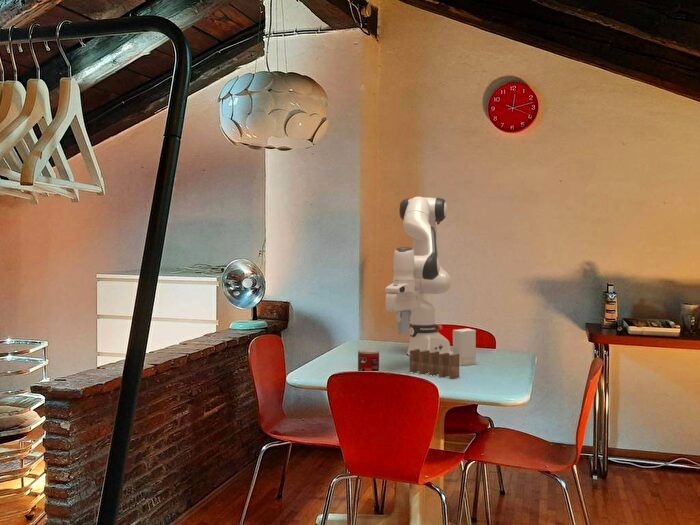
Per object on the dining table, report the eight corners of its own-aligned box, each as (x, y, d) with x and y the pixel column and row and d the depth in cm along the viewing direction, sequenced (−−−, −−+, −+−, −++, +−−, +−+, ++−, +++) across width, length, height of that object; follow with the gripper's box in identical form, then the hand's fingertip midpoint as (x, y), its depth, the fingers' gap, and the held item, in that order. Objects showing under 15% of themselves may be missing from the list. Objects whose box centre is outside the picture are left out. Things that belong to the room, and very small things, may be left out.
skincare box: (468, 362, 308) (468, 328, 308) (476, 364, 303) (476, 329, 302) (451, 363, 305) (452, 329, 304) (460, 366, 299) (460, 330, 299)
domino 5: (439, 377, 276) (439, 354, 276) (445, 375, 280) (445, 352, 280) (442, 377, 275) (442, 354, 275) (449, 375, 279) (449, 352, 279)
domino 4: (429, 375, 279) (429, 352, 279) (435, 373, 283) (435, 351, 283) (432, 376, 278) (432, 353, 278) (439, 374, 282) (439, 351, 282)
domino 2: (409, 373, 285) (409, 350, 284) (416, 371, 288) (416, 348, 288) (413, 373, 284) (413, 350, 283) (419, 371, 288) (420, 349, 287)
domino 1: (398, 333, 287) (398, 311, 287) (405, 332, 291) (405, 310, 291) (401, 333, 286) (401, 311, 286) (408, 332, 290) (408, 310, 290)
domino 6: (449, 378, 273) (449, 355, 273) (455, 376, 277) (455, 353, 277) (452, 379, 272) (452, 355, 272) (459, 377, 276) (459, 353, 276)
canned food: (357, 377, 276) (357, 348, 276) (377, 376, 277) (377, 348, 276) (359, 381, 268) (359, 352, 268) (380, 380, 269) (380, 351, 269)
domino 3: (419, 374, 282) (419, 351, 281) (426, 372, 286) (426, 350, 285) (422, 374, 281) (422, 352, 280) (429, 372, 285) (429, 350, 284)
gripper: (411, 286, 298) (411, 319, 299) (382, 288, 282) (382, 323, 283) (424, 286, 294) (424, 320, 295) (395, 288, 279) (395, 324, 279)
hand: (403, 321), depth 289 cm, fingers closed on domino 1, 5 cm apart
